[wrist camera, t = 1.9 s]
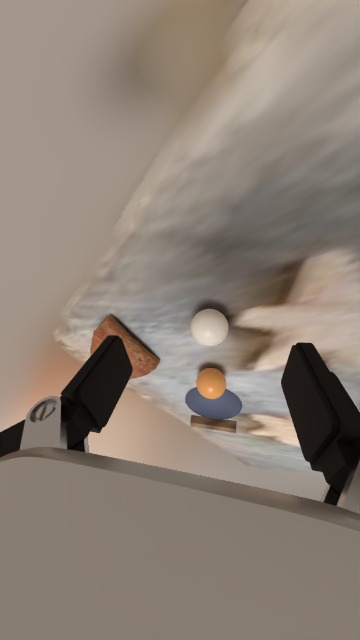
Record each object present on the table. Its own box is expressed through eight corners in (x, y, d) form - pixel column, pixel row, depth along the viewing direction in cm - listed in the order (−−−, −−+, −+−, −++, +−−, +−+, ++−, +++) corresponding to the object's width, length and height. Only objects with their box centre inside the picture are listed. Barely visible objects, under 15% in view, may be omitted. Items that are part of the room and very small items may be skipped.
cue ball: (235, 317, 30) (237, 340, 25) (210, 336, 34) (208, 359, 29) (209, 295, 29) (206, 315, 24) (186, 317, 32) (179, 338, 27)
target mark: (254, 408, 43) (254, 409, 43) (213, 423, 51) (213, 424, 51) (212, 377, 40) (211, 378, 40) (175, 398, 48) (174, 399, 47)
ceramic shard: (61, 354, 38) (105, 318, 33) (81, 340, 44) (121, 307, 39) (109, 401, 41) (156, 374, 36) (122, 381, 47) (164, 356, 42)
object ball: (232, 373, 38) (233, 398, 33) (212, 383, 41) (210, 408, 36) (211, 357, 37) (209, 381, 32) (192, 369, 40) (188, 393, 35)
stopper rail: (235, 421, 48) (236, 429, 46) (235, 425, 49) (235, 433, 47) (191, 415, 51) (190, 422, 49) (192, 419, 52) (191, 426, 50)
